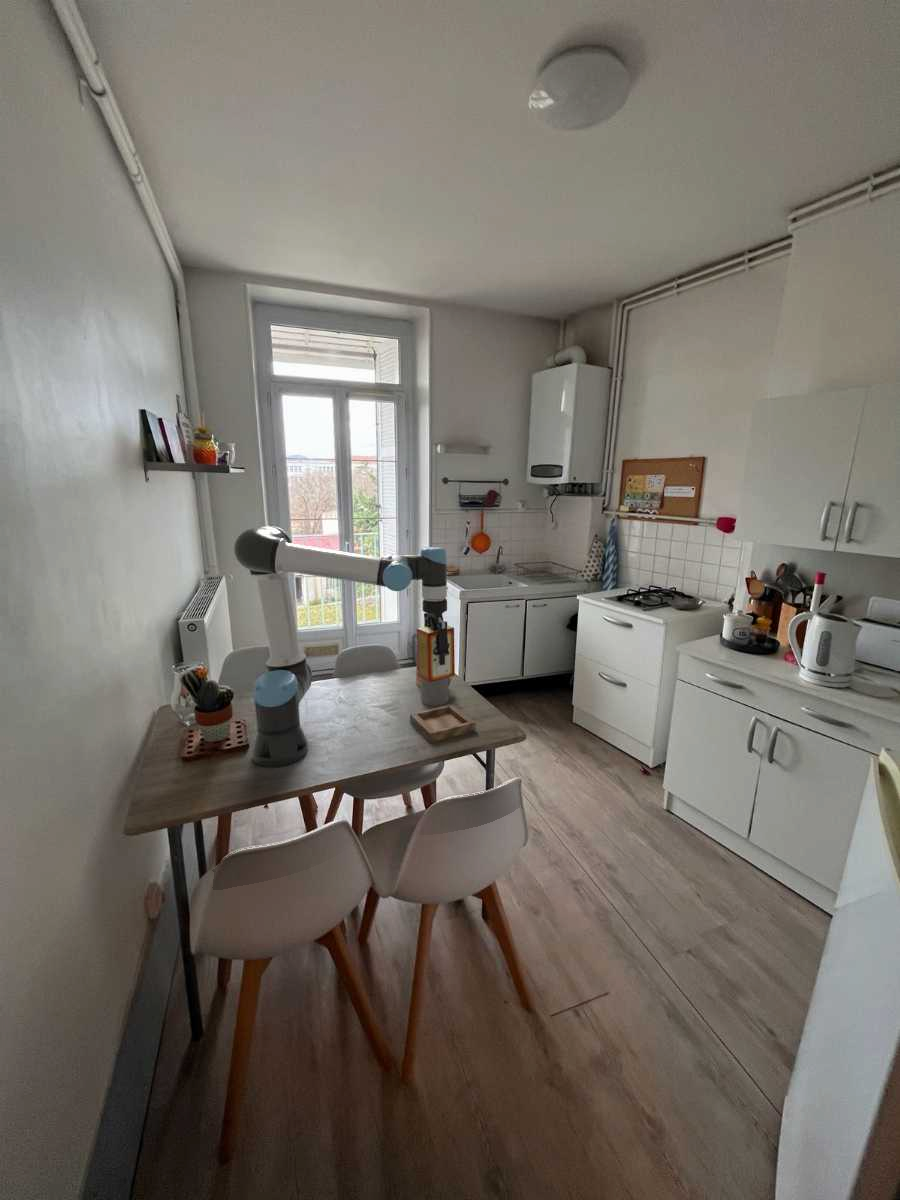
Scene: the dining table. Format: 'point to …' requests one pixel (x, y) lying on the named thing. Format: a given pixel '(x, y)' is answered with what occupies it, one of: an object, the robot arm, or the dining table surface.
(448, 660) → the baking soda box
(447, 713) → the tray
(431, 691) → the coffee mug
